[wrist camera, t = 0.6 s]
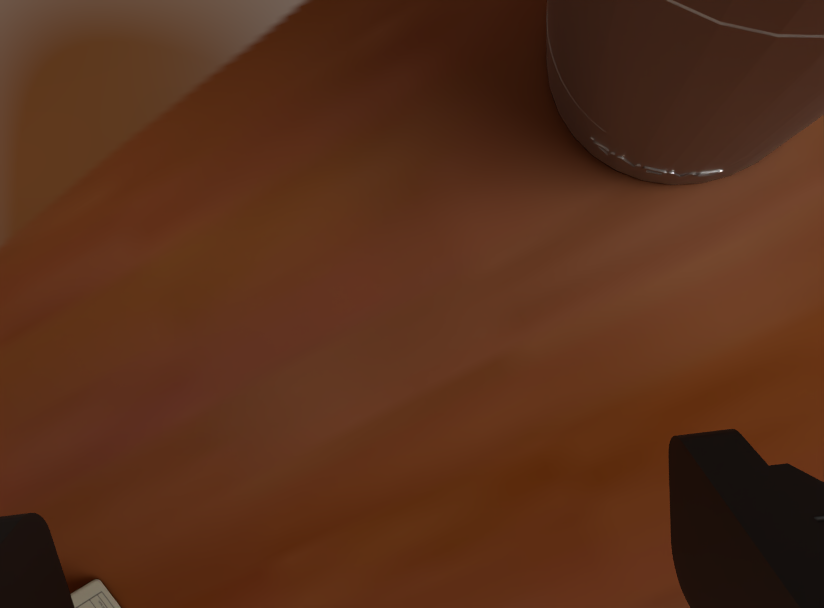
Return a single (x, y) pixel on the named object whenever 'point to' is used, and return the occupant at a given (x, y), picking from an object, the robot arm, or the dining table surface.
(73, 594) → the skincare box
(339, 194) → the dining table surface
